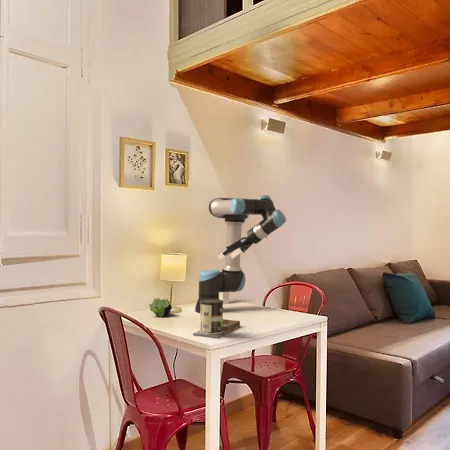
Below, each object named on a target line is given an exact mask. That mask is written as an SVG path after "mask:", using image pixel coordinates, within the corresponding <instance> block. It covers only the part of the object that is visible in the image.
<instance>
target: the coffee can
mask: <svg viewBox="0 0 450 450" xmlns="http://www.w3.org/2000/svg"><path fill="white" fill-rule="evenodd" d="M200 303H201V311H200V319H199V321H200V323H199V331H200V333H202V334H208V335H215V334H221V333H222V332H223V331H222V329H223V326H224V325H223V317H224V315H223V314H224V313H223V312H224V304H223V301H222V300H218V299H204V300H201V301H200Z"/></svg>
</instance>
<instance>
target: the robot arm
mask: <svg viewBox="0 0 450 450" xmlns="http://www.w3.org/2000/svg"><path fill="white" fill-rule="evenodd" d="M208 212H209V214H211V215H212V217H214V218H218V219H224V222H225V224H226V235H225V236H226V237H225V238H226V239H225V240H226V241H225V249H224V250H223V251H222V252H220V253H219V254H217V257H218V259H219V261H222V260H223V259H224V265H223V267H222V268H221V271H220V269H217V268H216V269H206V270H202V271H200V272H199V275H198V298H197V301H196V304H195V307H194V309H195V310H194V312H196V313H198V314H199V313H200V311H201V303H200V301H201V300H204V299H218V300H219V292H229V293H236V292H237V293H238V292H241V291H242V290H244V287H245V286H246V285H245V284H246V274H245V272H243V268H242V267H241V266H240V265H241V264H240V263H241V254H242V253H246V251H248V249H249V248H250V247H252V245H253V244H255V245H257V244H258V243H260V242H261V241H262V240H264V239H265V238H266V239H267V238H268V236H270V234H272V233H274V232H275V231H276V230H277V229H279V228H281V227H282V226H284V224H285V223H286V222H287V217H286V216H285V214H284V213H283V211H282V210H280V209H276V207H275V204H274V202H273V200H272V198H271V197H270V196H269V195H267V194H264V195H260V196H259V197H257V199H256V198H241V197H238V198H234V197H233V198H232V197H217V198H213V199H212V200H211V201H209V204H208ZM250 215H255V216H257V215H259V216H261V217H262V220H261V221H260V222H258V223H257V224H255V225H254V226H253V227H252V228H250V229H249V230H248V231H247V232H246V235H247V236H245V237H244V236H243V237H242V232H243V231H242V230H243V229H242V228H243V225H244V224H245V223H246V222H245V220H247V219H248V218H249V216H250Z"/></svg>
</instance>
